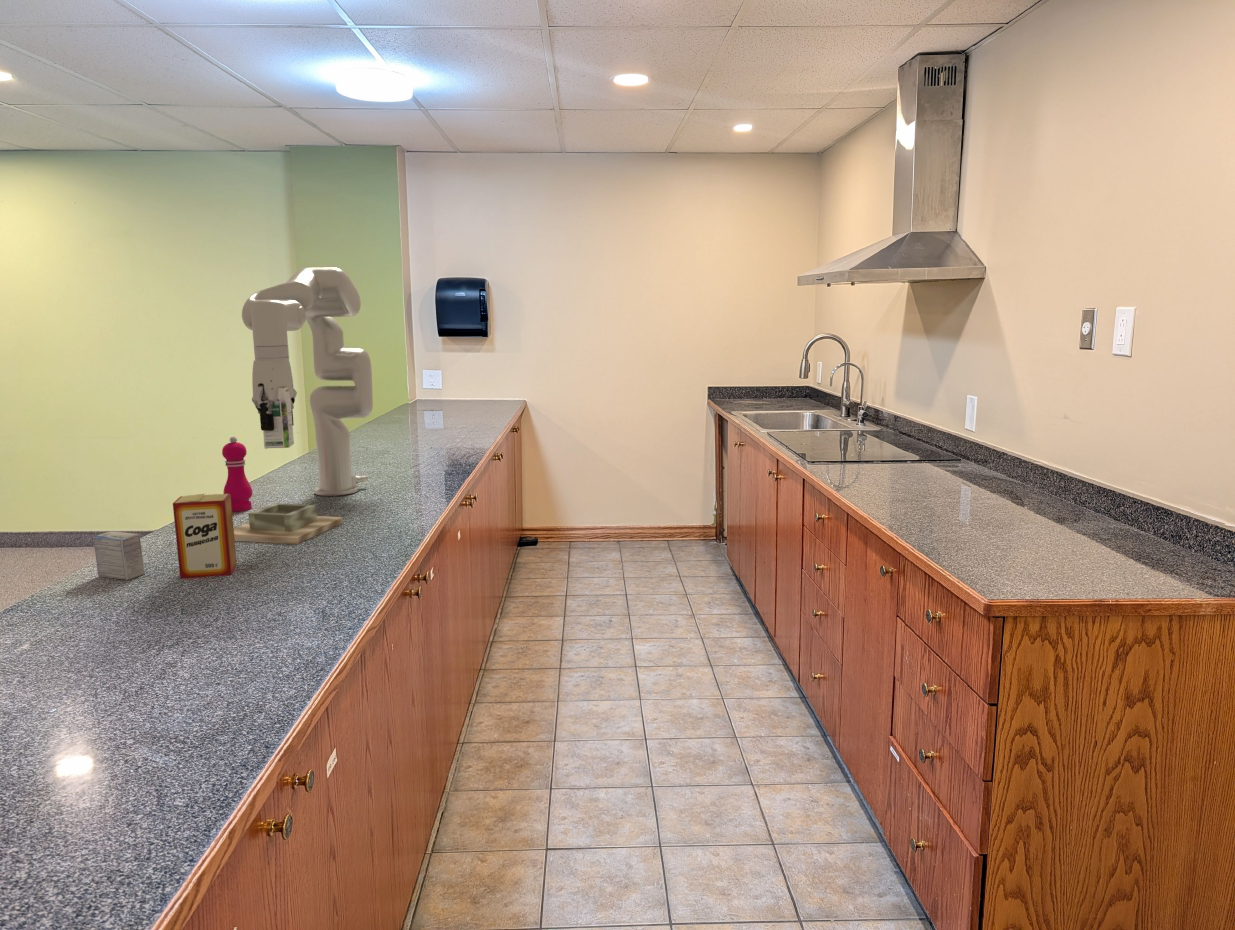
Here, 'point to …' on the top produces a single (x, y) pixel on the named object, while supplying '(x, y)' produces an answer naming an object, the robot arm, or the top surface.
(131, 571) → the medicine box
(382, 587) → the top surface
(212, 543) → the baking soda box
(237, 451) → the pepper mill
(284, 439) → the syrup box
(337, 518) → the socket board
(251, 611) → the top surface
